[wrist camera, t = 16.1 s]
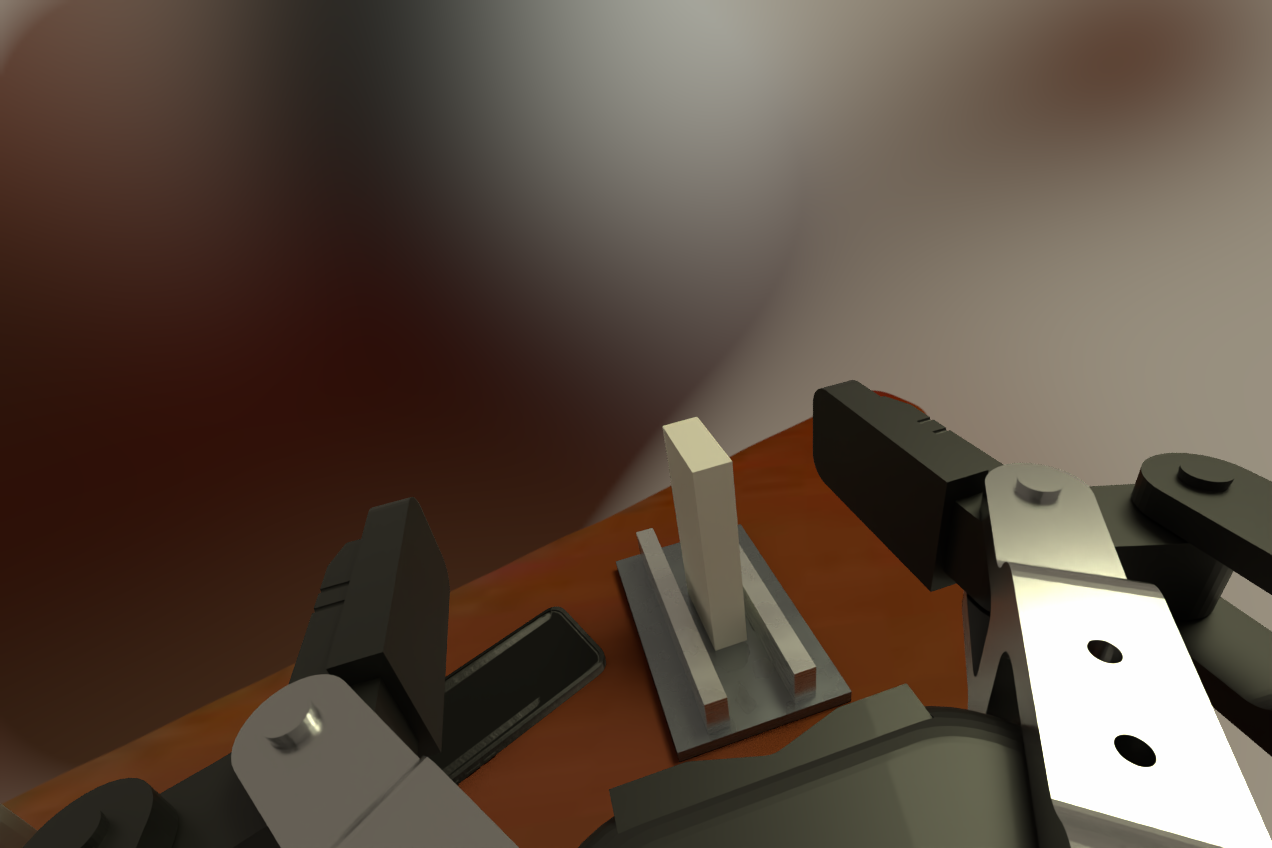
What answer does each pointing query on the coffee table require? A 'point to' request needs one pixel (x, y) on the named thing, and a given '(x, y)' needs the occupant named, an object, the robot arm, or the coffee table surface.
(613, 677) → the coffee table surface
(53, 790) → the coffee table surface
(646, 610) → the floor track
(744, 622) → the door leaf
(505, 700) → the phone
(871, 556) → the coffee table surface
